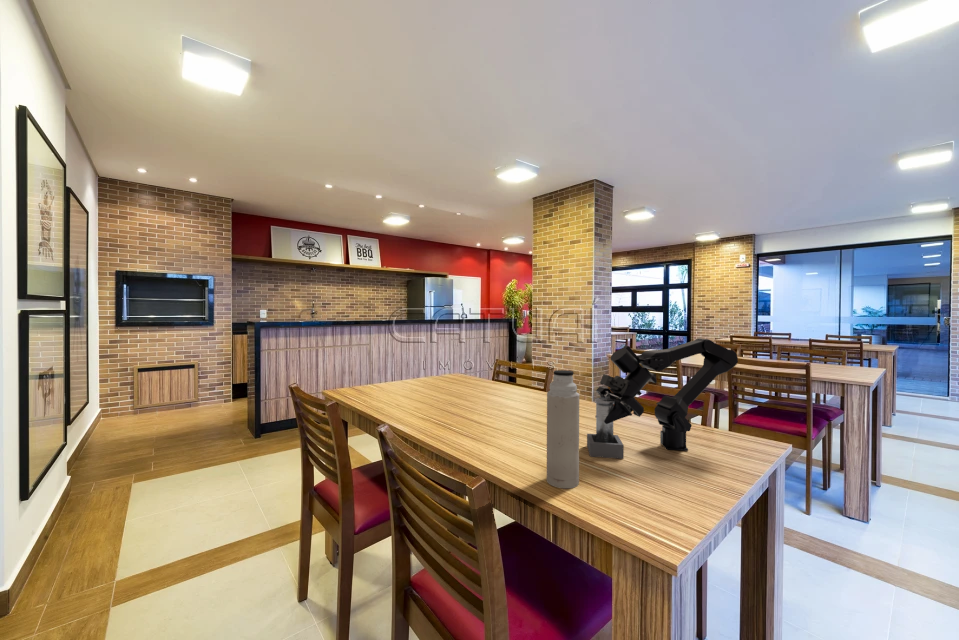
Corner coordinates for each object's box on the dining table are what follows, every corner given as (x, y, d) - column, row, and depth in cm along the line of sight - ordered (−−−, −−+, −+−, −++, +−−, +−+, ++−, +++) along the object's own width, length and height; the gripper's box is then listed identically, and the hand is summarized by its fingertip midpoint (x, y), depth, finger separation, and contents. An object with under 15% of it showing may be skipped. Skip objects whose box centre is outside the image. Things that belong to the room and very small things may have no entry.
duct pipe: (618, 442, 116) (618, 399, 116) (607, 446, 113) (607, 402, 113) (602, 437, 121) (601, 396, 120) (591, 441, 117) (591, 399, 117)
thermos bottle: (540, 482, 95) (541, 371, 95) (555, 472, 102) (556, 367, 101) (570, 491, 90) (570, 374, 90) (584, 480, 96) (584, 370, 96)
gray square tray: (617, 447, 121) (617, 435, 121) (623, 458, 111) (623, 445, 111) (586, 445, 122) (587, 433, 122) (590, 456, 113) (590, 443, 113)
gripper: (601, 361, 126) (570, 396, 124) (634, 369, 108) (598, 410, 106) (623, 384, 128) (592, 419, 126) (659, 396, 110) (624, 436, 108)
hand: (600, 420), depth 116 cm, fingers closed on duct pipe, 5 cm apart
